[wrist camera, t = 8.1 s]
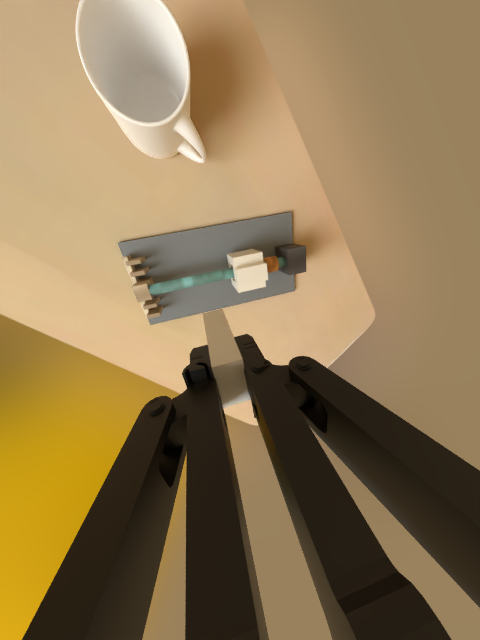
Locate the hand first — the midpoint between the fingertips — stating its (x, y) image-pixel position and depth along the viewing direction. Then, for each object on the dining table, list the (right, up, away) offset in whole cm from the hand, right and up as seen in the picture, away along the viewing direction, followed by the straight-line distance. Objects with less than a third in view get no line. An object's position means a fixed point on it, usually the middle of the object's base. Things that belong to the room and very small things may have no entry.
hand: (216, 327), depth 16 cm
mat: (-2, +9, +20) cm, 22 cm away
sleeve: (+2, +10, +19) cm, 21 cm away
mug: (-8, +26, +11) cm, 29 cm away
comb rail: (-2, +9, +20) cm, 22 cm away
